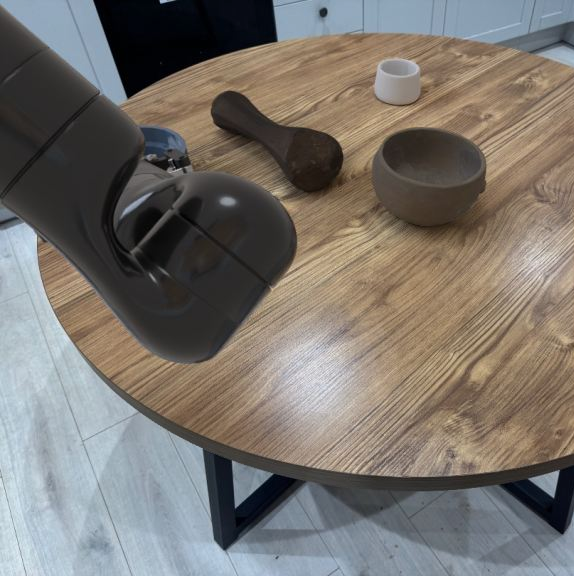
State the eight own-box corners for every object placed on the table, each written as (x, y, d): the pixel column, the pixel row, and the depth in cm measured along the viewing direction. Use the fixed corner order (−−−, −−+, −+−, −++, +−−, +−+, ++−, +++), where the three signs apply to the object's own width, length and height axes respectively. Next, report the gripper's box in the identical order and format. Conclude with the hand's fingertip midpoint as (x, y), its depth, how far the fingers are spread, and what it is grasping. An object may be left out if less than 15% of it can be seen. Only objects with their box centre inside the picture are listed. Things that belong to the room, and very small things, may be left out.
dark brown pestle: (338, 198, 96) (242, 149, 112) (356, 137, 93) (254, 95, 108) (290, 194, 88) (192, 141, 103) (307, 127, 85) (204, 82, 100)
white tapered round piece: (403, 111, 115) (406, 82, 110) (364, 96, 118) (365, 68, 114) (434, 90, 122) (437, 62, 118) (396, 76, 125) (398, 49, 121)
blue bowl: (80, 210, 88) (66, 177, 84) (110, 155, 99) (100, 123, 94) (181, 212, 89) (173, 179, 84) (201, 157, 99) (194, 126, 95)
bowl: (492, 194, 96) (504, 142, 89) (454, 256, 85) (464, 201, 78) (399, 165, 101) (404, 113, 94) (351, 219, 89) (352, 165, 82)
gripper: (203, 132, 45) (150, 118, 57) (12, 201, 39) (-1, 169, 52) (236, 218, 49) (180, 188, 61) (66, 293, 43) (42, 242, 55)
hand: (97, 179), depth 56 cm, fingers open, 8 cm apart
